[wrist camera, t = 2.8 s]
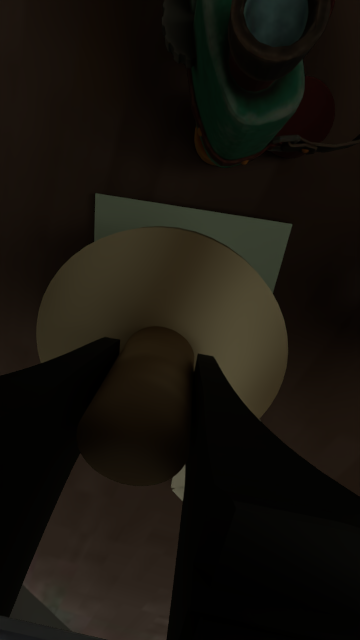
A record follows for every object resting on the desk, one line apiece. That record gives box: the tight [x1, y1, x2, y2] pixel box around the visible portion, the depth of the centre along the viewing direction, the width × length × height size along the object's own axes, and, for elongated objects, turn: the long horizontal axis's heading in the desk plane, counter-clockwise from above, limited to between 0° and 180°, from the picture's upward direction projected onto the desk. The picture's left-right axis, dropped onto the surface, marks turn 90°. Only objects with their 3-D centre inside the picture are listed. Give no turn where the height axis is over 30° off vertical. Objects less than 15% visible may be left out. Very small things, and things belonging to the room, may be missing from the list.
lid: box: [36, 226, 288, 486], centre depth 10 cm, size 10×10×6 cm
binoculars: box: [162, 0, 360, 168], centre depth 10 cm, size 9×11×10 cm
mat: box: [94, 193, 292, 294], centre depth 19 cm, size 12×12×1 cm
